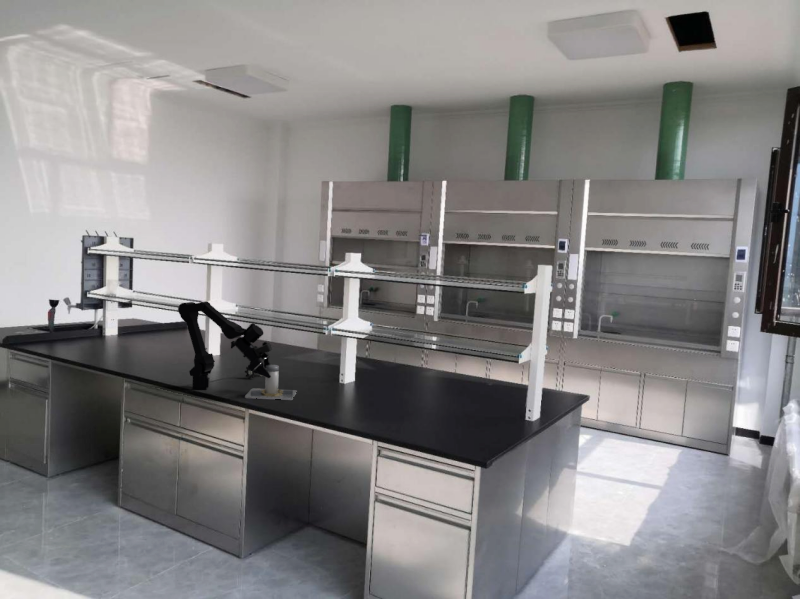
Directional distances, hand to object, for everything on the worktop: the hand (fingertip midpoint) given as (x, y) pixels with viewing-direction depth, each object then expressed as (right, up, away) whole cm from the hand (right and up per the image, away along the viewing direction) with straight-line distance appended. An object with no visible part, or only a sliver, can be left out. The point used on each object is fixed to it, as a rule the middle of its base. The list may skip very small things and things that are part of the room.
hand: (271, 375), depth 274 cm
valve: (-14, -6, +35) cm, 38 cm away
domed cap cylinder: (0, -8, +1) cm, 8 cm away
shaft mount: (0, -9, +1) cm, 9 cm away
